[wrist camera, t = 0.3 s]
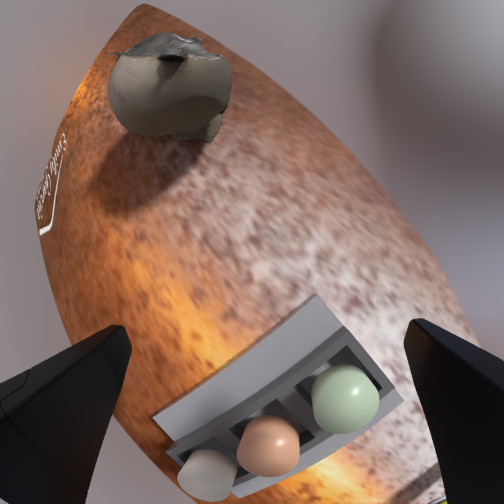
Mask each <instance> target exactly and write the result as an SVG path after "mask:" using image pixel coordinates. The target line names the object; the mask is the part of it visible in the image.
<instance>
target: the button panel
mask: <svg viewBox="0 0 504 504" xmlns="http://www.w3.org/2000/svg"><path fill="white" fill-rule="evenodd" d="M338 364H351V365H354V366H357V367H358V368H360V369H361V370H362V371H363V372H364V373H365V374H366V376H367V377H368V378H369V380H370V381H371V382H372V384H373V385H374V386H375V388H376V389H377V391H378V394H379V406H378V410H377V412H376V414H375V415H374V417H373V418H372V420H371V421H370V422H369V423H368V424H366V425H365V426H364V427H362V428H361V429H359V430H357V431H354V432H351V433H347V434H333V433H330V432H327V431H325V430H324V429H322V428H321V427H320V426H319V425H318V424H317V422H316V420H315V417H314V412H313V405H312V398H311V389H312V386H313V383H314V381H315V379H316V378H317V377H318V376H319V374H320V373H322V372H323V371H324V370H326V369H327V368H329V367H331V366H334V365H338ZM403 401H404V400H403V398H402V397H401V396H400V395H399V393H398V392H397V391H396V390H395V387H394V385H393V384H392V383H391V382H390V380H389V379H388V378H387V377H386V375H385V374H384V373H383V372H382V370H381V369H380V368H379V367H378V365H377V364H376V363H375V362H374V361H373V359H372V358H371V357H370V356H369V354H368V353H367V352H366V351H365V349H364V348H363V347H362V346H361V345H360V343H359V342H358V341H357V340H356V339H355V337H354V336H353V335H352V334H351V332H350V331H349V330H348V329H347V328H346V327H344V326H343V325H342V323H341V322H340V321H339V320H338V319H337V317H336V316H335V315H334V314H333V313H332V311H331V310H330V309H329V308H328V307H327V305H326V304H325V303H324V302H323V301H322V300H321V298H320V297H319V296H318V295H317V294H315V293H314V294H313V295H312V296H311V297H310V298H308V299H307V300H306V301H305V302H304V303H303V304H301V305H300V306H299V307H298V308H297V309H295V310H294V311H293V312H292V313H291V314H290V315H288V316H287V317H286V318H285V319H283V320H282V321H281V322H280V323H279V324H277V325H276V326H275V327H274V328H272V329H271V330H270V331H269V332H267V333H266V334H265V335H264V336H262V337H261V338H260V339H259V340H257V341H256V342H255V343H253V344H252V345H251V346H250V347H248V348H247V349H246V350H244V351H243V352H242V353H240V354H239V355H238V356H236V357H235V358H234V359H232V360H231V361H230V362H228V363H227V364H226V365H224V366H223V367H222V368H220V369H219V370H218V371H216V372H215V373H213V374H212V375H211V376H209V377H208V378H206V379H205V380H204V381H202V382H201V383H199V384H198V385H196V386H195V387H194V388H192V389H191V390H189V391H188V392H186V393H185V394H183V395H182V396H180V397H179V398H177V399H176V400H174V401H173V402H171V403H170V404H168V405H167V406H165V407H164V408H163V409H161V410H160V411H159V412H158V413H157V414H156V415H155V416H154V417H153V419H154V420H155V421H156V422H157V423H158V425H159V426H160V427H161V428H162V429H163V430H164V431H165V432H166V433H167V434H168V435H169V436H170V438H171V439H172V440H173V441H174V443H173V444H172V445H171V446H170V447H169V449H168V450H167V451H166V453H167V454H168V455H169V456H170V457H171V458H172V459H173V460H174V461H175V462H176V463H177V464H178V465H179V466H180V467H182V468H183V466H184V465H185V463H186V462H187V460H188V459H189V457H190V455H191V454H192V453H193V452H195V451H197V450H200V449H211V450H216V451H219V452H221V453H223V454H225V455H227V456H228V457H230V458H231V459H232V460H233V461H234V463H235V464H236V467H237V474H236V477H235V480H234V482H233V485H232V488H231V491H230V492H232V493H233V494H234V495H235V496H237V497H238V498H241V497H244V496H247V495H249V494H252V493H254V492H257V491H259V490H262V489H264V488H267V487H269V486H271V485H273V484H276V483H278V482H280V481H282V480H284V479H286V478H288V477H290V476H292V475H294V474H296V473H298V472H300V471H302V470H304V469H306V468H308V467H310V466H312V465H313V464H315V463H317V462H319V461H320V460H322V459H324V458H325V457H327V456H329V455H330V454H332V453H334V452H335V451H337V450H339V449H340V448H342V447H343V446H345V445H346V444H348V443H349V442H351V441H352V440H354V439H355V438H357V437H358V436H359V435H361V434H362V433H364V432H365V431H366V430H368V429H369V428H371V427H372V426H373V425H375V424H376V423H377V422H378V421H380V420H381V419H382V418H384V417H385V416H386V415H387V414H389V413H390V412H391V411H392V410H393V409H395V408H396V407H397V406H398V405H399V404H400V403H402V402H403ZM264 415H278V416H282V417H284V418H287V419H289V420H290V421H292V422H293V423H294V424H295V425H296V427H297V429H298V431H299V453H300V457H299V462H298V464H297V465H296V467H295V468H294V469H293V470H292V471H290V472H288V473H287V474H284V475H281V476H277V477H261V476H257V475H254V474H252V473H250V472H248V471H246V470H245V469H244V468H243V467H242V466H241V465H240V464H239V462H238V459H237V450H238V447H239V444H240V441H241V439H242V436H243V433H244V430H245V428H246V426H247V425H248V423H250V422H251V421H252V420H253V419H255V418H257V417H260V416H264Z"/></svg>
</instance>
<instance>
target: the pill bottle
mask: <svg viewBox="0 0 504 504" xmlns="http://www.w3.org/2000/svg"><path fill="white" fill-rule="evenodd" d="M430 504H447V500H446V496H443V497H441V498H438V499H436V500H435V501H433V502H431V503H430Z"/></svg>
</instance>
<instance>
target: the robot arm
mask: <svg viewBox="0 0 504 504" xmlns="http://www.w3.org/2000/svg"><path fill="white" fill-rule="evenodd" d="M404 349H405V352H406V356H407V360H408V363H409V367H410V371H411V375H412V378H413V382H414V385H415V388H416V391H417V394H418V397H419V400H420V403H421V405H422V408H423V411H424V414H425V417H426V421H427V424H428V427H429V430H430V433H431V437H432V440H433V444H434V447H435V451H436V455H437V458H438V462H439V466H440V470H441V475H442V479H443V484H444V488H445V495H446V500H447V504H504V361H503V360H502V359H499V358H498V357H496V356H494V355H492V354H491V353H489V352H487V351H485V350H483V349H481V348H479V347H477V346H475V345H474V344H472V343H470V342H468V341H466V340H464V339H462V338H460V337H458V336H456V335H454V334H452V333H451V332H449V331H447V330H445V329H443V328H441V327H439V326H437V325H435V324H433V323H431V322H429V321H427V320H425V319H423V318H418V319H412V320H411V321H410V322H409V325H408V329H407V332H406V335H405V338H404ZM131 352H132V346H131V343H130V340H129V337H128V334H127V331H126V329H125V327H124V326H122V325H114V324H113V325H110V326H108V327H107V328H105V329H103V330H101V331H99V332H97V333H95V334H93V335H92V336H90V337H88V338H86V339H84V340H82V341H80V342H78V343H77V344H75V345H73V346H71V347H69V348H67V349H66V350H63V351H62V352H60V353H58V354H56V355H54V356H52V357H50V358H49V359H47V360H45V361H43V362H41V363H39V364H37V365H35V366H34V367H32V368H31V369H28V370H26V371H24V372H22V373H21V374H18V375H16V376H14V377H13V378H11V379H8V380H6V381H4V382H2V383H0V504H85V501H86V497H87V493H88V489H89V486H90V482H91V478H92V475H93V472H94V468H95V465H96V462H97V458H98V455H99V452H100V449H101V446H102V443H103V439H104V436H105V433H106V430H107V428H108V425H109V422H110V419H111V416H112V414H113V411H114V408H115V405H116V403H117V400H118V397H119V394H120V392H121V389H122V385H123V382H124V378H125V374H126V370H127V367H128V363H129V360H130V356H131Z"/></svg>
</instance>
